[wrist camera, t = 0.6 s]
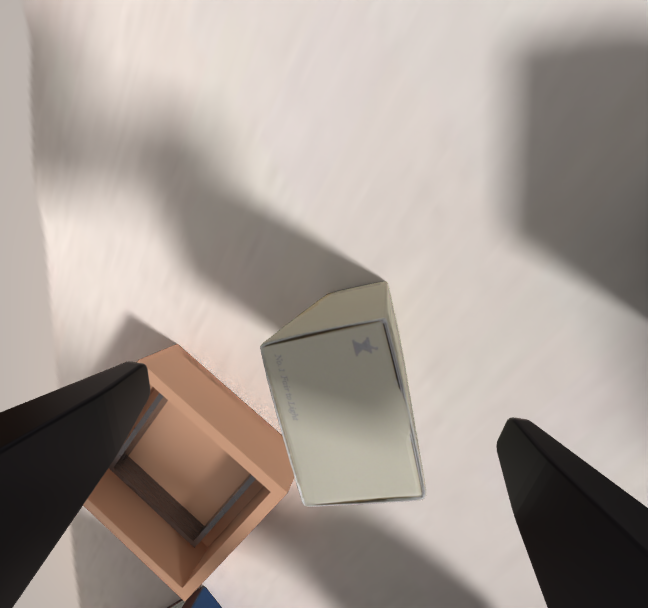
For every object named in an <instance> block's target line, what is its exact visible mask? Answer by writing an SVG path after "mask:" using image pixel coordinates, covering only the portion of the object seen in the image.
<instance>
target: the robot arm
mask: <svg viewBox="0 0 648 608" xmlns="http://www.w3.org/2000/svg"><path fill="white" fill-rule="evenodd" d="M149 396H150V382H149V375H148V368H147V366H146V365H145V364H143V363H138V362H125V363H123V364H120V365H118V366H115V367H113V368H110V369H108V370H105V371H103V372H100V373H98V374H95V375H93V376H90V377H88V378H85V379H83V380H80V381H78V382H75V383H73V384H70V385H68V386H65V387H63V388H60V389H58V390H56V391H53V392H51V393H48V394H46V395H43V396H40V397H38V398H36V399H33V400H30V401H28V402H25V403H23V404H20V405H18V406H15V407H13V408H11V409H8V410H5V411H3V412H0V608H12V607H13V606H14V605H15V603H16V602H17V600H18V599H19V598H20V596H21V595H22V593H23V592H24V590H25V589H26V587H27V586H28V584H29V583H30V581H31V580H32V579H33V577H34V576H35V574H36V573H37V571H38V570H39V568H40V567H41V566H42V564H43V562H44V561H45V560H46V558H47V557H48V555H49V554H50V552H51V551H52V550H53V548H54V547H55V545H56V544H57V542H58V541H59V539H60V538H61V536H62V535H63V534H64V532H65V531H66V529H67V528H68V526H69V525H70V523H71V522H72V520H73V519H74V518H75V516H76V515H77V513H78V512H79V510H80V509H81V507H82V506H83V504H84V503H85V502H86V500H87V499H88V497H89V496H90V494H91V493H92V491H93V490H94V488H95V487H96V486H97V484H98V483H99V481H100V480H101V478H102V477H103V475H104V474H105V472H106V471H107V470H108V468H109V467H110V465H111V464H112V462H113V461H114V459H115V458H116V456H117V454H118V453H119V451H120V449H121V448H122V446H123V444H124V442H125V441H126V439H127V437H128V435H129V433H130V432H131V430H132V428H133V426H134V424H135V422H136V421H137V419H138V417H139V415H140V413H141V412H142V410H143V408H144V406H145V404H146V403H147V401H148V399H149ZM497 453H498V457H499V461H500V465H501V468H502V472H503V476H504V480H505V484H506V488H507V491H508V495H509V499H510V503H511V506H512V510H513V513H514V517H515V519H516V522H517V525H518V528H519V531H520V534H521V536H522V539H523V542H524V545H525V547H526V550H527V553H528V555H529V558H530V561H531V564H532V566H533V569H534V572H535V574H536V577H537V580H538V583H539V585H540V588H541V591H542V594H543V596H544V599H545V602H546V604H547V607H548V608H648V508H647V507H646V506H644V505H643V504H642V503H640V502H639V501H638V500H636V499H635V498H633V497H632V496H631V495H629V494H628V493H627V492H625V491H624V490H623V489H621V488H620V487H619V486H617V485H616V484H615V483H613V482H612V481H611V480H609V479H608V478H607V477H605V476H604V475H602V474H601V473H600V472H598V471H597V470H596V469H594V468H593V467H592V466H590V465H589V464H588V463H586V462H585V461H584V460H582V459H581V458H580V457H578V456H577V455H575V454H574V453H573V452H571V451H570V450H569V449H567V448H566V447H565V446H563V445H562V444H561V443H559V442H558V441H557V440H555V439H554V438H553V437H551V436H550V435H549V434H547V433H546V432H544V431H543V430H542V429H540V428H539V427H538V426H536V425H535V424H534V423H532V422H531V421H529V420H527V419H521V418H514V417H513V418H509V419H508V420H507V422H506V424H505V426H504V428H503V430H502V432H501V434H500V437H499V439H498V441H497Z"/></svg>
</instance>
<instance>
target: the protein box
mask: <svg viewBox="0 0 648 608" xmlns="http://www.w3.org/2000/svg"><path fill="white" fill-rule="evenodd" d="M168 608H221V606H220V605H219V604H218V602H217V601H216V600H215V599H214V597H213V596H212V595H211V594H210V592H209V591H208V590H207V589H206V588H205V587H202V588H200V589H198V590H196V591H195V592H194V593H193V594H192V595H191V596H190V597H189V598H188V599H187V600H186V601H184V600H183V599H181V600H179V601H178V602H176V603H174V604H173V605H171V606H169V607H168Z"/></svg>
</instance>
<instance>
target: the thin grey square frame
mask: <svg viewBox="0 0 648 608" xmlns="http://www.w3.org/2000/svg"><path fill="white" fill-rule="evenodd" d="M167 401H168V400H167V399H166V398H165V397H164V396H163V395H162V394H161V393H159V394H158V396H157V397H156V399H155V400H154V402H153V403H152V404H151V406H150V407H149V409H148V410H147V412H146V413H145V414H144V416H143V417H142V419H141V420H140V421H139V423H138V424H137V426H136V427H135V429H134V430H133V431H132V433H131V434H130V436H129V437H128V439H127V440H126V441H125V443H124V444H123V446H122V448H121V449H120V451H119V453H118V454H117V456H116V458H115V459H114V461H113V462H112V464H111V465H110V467H109V469H110V470H111V471H112V472H113V473H114V474H115V475H116V476H118V477H119V478H120V479H121V480H122V481H123V482H124V483H125V484H126V485H127V486H128V487H129V488H130V489H132V490H133V491H134V492H135V493H136V494H137V495H138V496H139V497H140V498H141V499H142V500H143V501H144V502H146V503H147V504H148V505H149V506H150V507H151V508H152V509H153V510H154V511H155V512H156V513H157V514H158V515H160V516H161V517H162V518H163V519H164V520H165V521H166V522H167V523H168V524H169V525H170V526H171V527H172V528H174V529H175V530H176V531H177V532H178V533H179V534H180V535H181V536H182V537H183V538H184V539H185V540H186V541H188V542H189V543H190V544H191V545H192V546H193V547H194V548H195V547H196V546H197V545H198V544H199V542H200V541H201V540H202V539H203V538H204V537H205V536H206V535H207V533H208V532H209V531H210V530H211V529H212V528H213V527H214V526H215V524H216V523H217V522H218V521H219V520H220V519H221V518H222V517H223V515H224V514H225V513H226V512H227V511H228V510H229V509H230V508H231V506H232V505H233V504H234V503H235V502H236V501H237V500H238V499H239V497H240V496H241V495H242V494H243V493H244V492H245V491H246V490H247V489H248V487H249V486H250V485H251V484H252V483H253V482H254V481H255V480H256V478H255V477H253V476H252V475H251V474H249V475H248V477H247V478H246V479H245V480H244V481H243V482H242V483H241V485H240V486H239V487H238V488H237V489H236V490H235V491H234V493H233V494H232V495H231V496H230V497H229V498H228V499H227V501H226V502H225V503H224V504H223V505H222V506H221V507H220V509H219V510H218V511H217V512H216V513H215V514H214V515H213V516H212V518H211V519H210V520H209V521H208V522H207V523H206V524H205V526H204V525H203V524H202V523H201V522H199V521H198V520H197V519H196V518H195V517H194V516H193V515H192V514H191V513H190V512H189V511H188V510H186V509H185V508H184V507H183V506H182V505H181V504H180V503H179V502H178V501H177V500H176V499H174V498H173V497H172V496H171V495H170V494H169V493H168V492H167V491H166V490H165V489H164V488H163V487H161V486H160V485H159V484H158V483H157V482H156V481H155V480H154V479H153V478H152V477H151V476H149V475H148V474H147V473H146V472H145V471H144V470H143V469H142V468H141V467H140V466H139V465H138V464H136V463H135V462H134V461H133V460H132V459H131V458H130V457H129V454H130V453H131V452H132V450H133V449H134V447H135V446H136V445H137V443H138V442H139V440H140V439H141V438H142V436H143V435H144V433H145V432H146V431H147V429H148V428H149V426H150V425H151V424H152V422H153V421H154V419H155V418H156V417H157V415H158V414H159V412H160V411H161V410H162V408H163V407H164V405H165V404H166V403H167Z"/></svg>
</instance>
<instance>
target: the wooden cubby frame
mask: <svg viewBox="0 0 648 608" xmlns="http://www.w3.org/2000/svg"><path fill="white" fill-rule="evenodd" d="M137 362H138V363H143V364H145V365H146V366H147V368H148V375H149V382H150V396H149V399H148V401H147V403H146V404H145V406H144V408H143V410H142V412H141V413H140V415H139V417H138V419H137V421H136V422H135V424H134V426H133V428H132V430H131V432H130V433H129V435H128V437H129V436H130V434H131V433H132V431H133V430H134V429H135V427H136V426H137V424H138V423H139V421H140V420H141V419H142V417H143V416H144V414H145V413H146V412H147V410H148V409H149V407H150V406H151V404H152V403H153V402H154V400H155V399H156V397H157V396H158V394H159V393H161V394H162V395H163V396H164V397H165V398H166V399H167V400H168V401H167V403H166V404H165V405H164V407H163V408H162V410H161V411H160V412H159V414H158V415H157V417H156V418H155V419H154V421H153V422H152V424H151V425H150V426H149V428H148V429H147V431H146V432H145V433H144V435H143V436H142V438H141V439H140V440H139V442H138V443H137V445H136V446H135V447H134V449H133V450H132V452H131V453H130V454H129V457H130V458H131V459H132V460H133V461H134V462H135V463H136V464H138V465H139V466H140V467H141V468H142V469H143V470H144V471H145V472H146V473H147V474H148V475H149V476H151V477H152V478H153V479H154V480H155V481H156V482H157V483H158V484H159V485H160V486H161V487H163V488H164V489H165V490H166V491H167V492H168V493H169V494H170V495H171V496H172V497H173V498H174V499H176V500H177V501H178V502H179V503H180V504H181V505H182V506H183V507H184V508H185V509H186V510H188V511H189V512H190V513H191V514H192V515H193V516H194V517H195V518H196V519H197V520H198V521H199V522H201V523H202V524H203V525H204V526H205V524H206V523H207V522H208V521H209V520H210V519H211V518H212V516H213V515H214V514H215V513H216V512H217V511H218V510H219V509H220V507H221V506H222V505H223V504H224V503H225V502H226V501H227V499H228V498H229V497H230V496H231V495H232V494H233V493H234V491H235V490H236V489H237V488H238V487H239V486H240V485H241V483H242V482H243V481H244V480H245V479H246V478H247V477H248V475H249V474H251V475H252V476H253V477H255V478H256V480H255V481H254V482H253V483H252V484H251V485H250V486H249V487H248V489H247V490H246V491H245V492H244V493H243V494H242V495H241V496H240V497H239V499H238V500H237V501H236V502H235V503H234V504H233V505H232V506H231V508H230V509H229V510H228V511H227V512H226V513H225V514H224V515H223V517H222V518H221V519H220V520H219V521H218V522H217V523H216V524H215V526H214V527H213V528H212V529H211V530H210V531H209V532H208V533H207V535H206V536H205V537H204V538H203V539H202V540H201V541H200V542H199V544H198V545H197V546H196V547H195V548H194V547H193V546H192V545H191V544H190V543H189V542H188V541H186V540H185V539H184V538H183V537H182V536H181V535H180V534H179V533H178V532H177V531H176V530H175V529H174V528H172V527H171V526H170V525H169V524H168V523H167V522H166V521H165V520H164V519H163V518H162V517H161V516H160V515H158V514H157V513H156V512H155V511H154V510H153V509H152V508H151V507H150V506H149V505H148V504H147V503H146V502H144V501H143V500H142V499H141V498H140V497H139V496H138V495H137V494H136V493H135V492H134V491H133V490H132V489H130V488H129V487H128V486H127V485H126V484H125V483H124V482H123V481H122V480H121V479H120V478H119V477H118V476H116V475H115V474H114V473H113V472H112V471H111V470H110V469H109V468H108V470H107V471H106V472H105V474H104V475H103V477H102V478H101V480H100V481H99V483H98V484H97V486H96V487H95V488H94V490H93V491H92V493H91V494H90V496H89V497H88V499H87V500H86V502H85V503H84V504H83V506H84V507H85V508H86V509H87V510H88V511H90V512H91V513H92V514H93V515H94V516H95V517H96V518H97V519H98V520H99V521H100V522H101V523H102V524H103V525H104V526H105V527H106V528H107V529H109V530H110V531H111V532H112V533H113V534H114V535H115V536H116V537H117V538H118V539H119V540H120V541H121V542H122V543H123V544H124V545H125V546H127V547H128V548H129V549H130V550H131V551H132V552H133V553H134V554H135V555H136V556H137V557H138V558H139V559H140V560H141V561H142V562H143V563H144V564H146V565H147V566H148V567H149V568H150V569H151V570H152V571H153V572H154V573H155V574H156V575H157V576H158V577H159V578H160V579H161V580H162V581H164V582H165V583H166V584H167V585H168V586H169V587H170V588H171V589H172V590H173V591H174V592H175V593H176V594H177V595H178V596H179V597H180V598H181V599H183V600H184V601H186V600H187V599H188V598H189V597H190V596H191V595H192V594H193V593H194V591H195V590H196V589H197V588H198V587H199V586H200V585H201V584H202V583H203V582H204V581H205V580H206V579H207V578H208V577H209V576H210V575H211V573H212V572H213V571H214V570H215V569H216V568H217V567H218V566H219V565H220V564H221V563H222V562H223V561H224V560H225V559H226V558H227V557H228V555H229V554H230V553H231V552H232V551H233V550H234V549H235V548H236V547H237V546H238V545H239V544H240V543H241V542H242V541H243V540H244V538H245V537H246V536H247V535H248V534H249V533H250V532H251V531H252V530H253V529H254V528H255V527H256V526H257V525H258V524H259V523H260V522H261V520H262V519H263V518H264V517H265V516H266V515H267V514H268V513H269V512H270V511H271V510H272V509H273V508H274V507H275V506H276V505H277V504H278V502H279V501H280V500H281V499H282V498H283V497H284V496H285V495H286V494H287V493H288V491H289V488H290V486H291V484H292V482H293V479H294V473H293V470H292V467H291V464H290V460H289V457H288V453H287V450H286V446H285V442H284V440H283V436H282V435H281V434H280V433H278V432H277V431H276V430H275V429H274V428H273V427H272V426H270V425H269V424H268V423H267V422H266V421H265V420H264V419H262V418H261V417H260V416H259V415H258V414H257V413H256V412H254V411H253V410H252V409H251V408H250V407H249V406H248V405H246V404H245V403H244V402H243V401H242V400H241V399H240V398H238V397H237V396H236V395H235V394H234V393H233V392H232V391H231V390H229V389H228V388H227V387H226V386H225V385H224V384H223V383H221V382H220V381H219V380H218V379H217V378H216V377H215V376H213V375H212V374H211V373H210V372H209V371H208V370H207V369H205V368H204V367H203V366H202V365H201V364H200V363H199V362H197V361H196V360H195V359H194V358H193V357H192V356H191V355H189V354H188V353H187V352H186V351H185V350H184V349H183V348H181V347H180V346H179V345H178V344H176V345H174V346H171V347H169V348H166V349H164V350H161V351H159V352H157V353H154V354H152V355H149V356H147V357H145V358H142V359H140V360H138V361H137ZM128 437H127V439H128ZM127 439H126V440H127ZM124 443H125V442H124Z"/></svg>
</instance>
